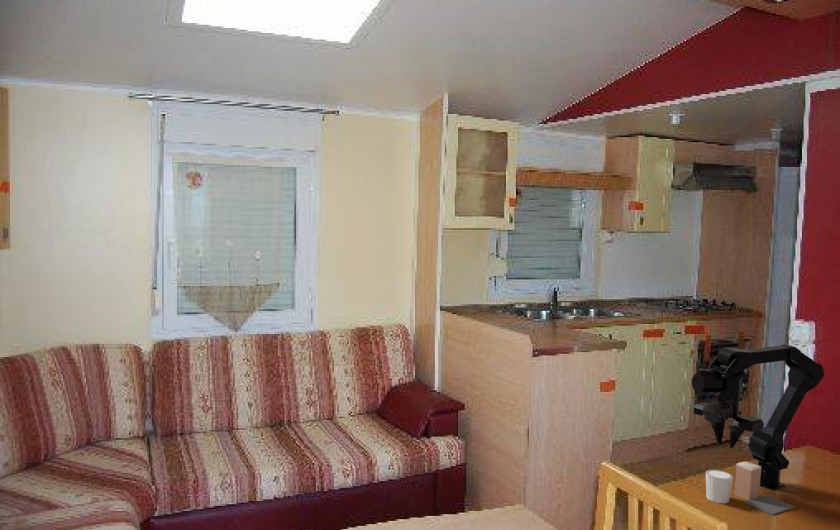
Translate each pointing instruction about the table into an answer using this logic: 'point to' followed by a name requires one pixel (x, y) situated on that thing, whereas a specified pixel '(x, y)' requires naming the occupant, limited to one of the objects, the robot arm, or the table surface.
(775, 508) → the mat
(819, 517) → the table surface
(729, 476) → the white cup
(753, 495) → the block
